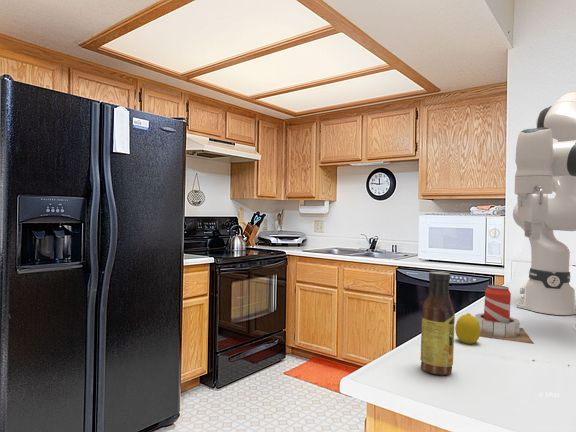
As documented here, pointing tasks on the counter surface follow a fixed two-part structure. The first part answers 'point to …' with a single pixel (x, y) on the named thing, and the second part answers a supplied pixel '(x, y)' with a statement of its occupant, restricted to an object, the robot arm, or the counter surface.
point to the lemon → (467, 329)
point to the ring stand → (521, 338)
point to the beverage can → (497, 303)
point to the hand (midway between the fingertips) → (531, 238)
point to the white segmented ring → (498, 327)
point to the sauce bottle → (438, 327)
